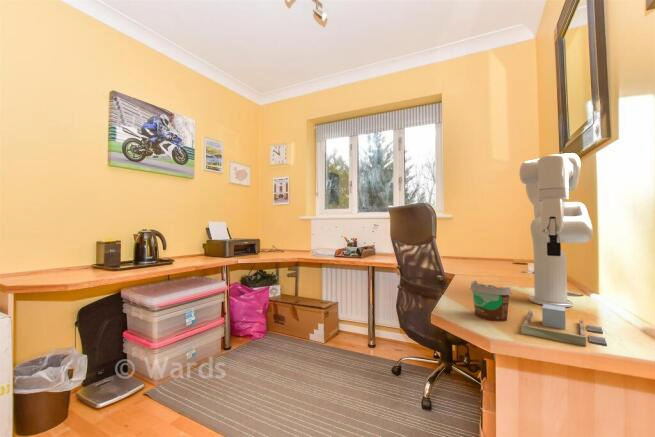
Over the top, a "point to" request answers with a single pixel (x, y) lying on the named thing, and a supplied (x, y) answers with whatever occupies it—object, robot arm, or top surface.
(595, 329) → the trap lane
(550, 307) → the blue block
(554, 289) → the robot arm
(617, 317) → the top surface
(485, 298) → the food container
